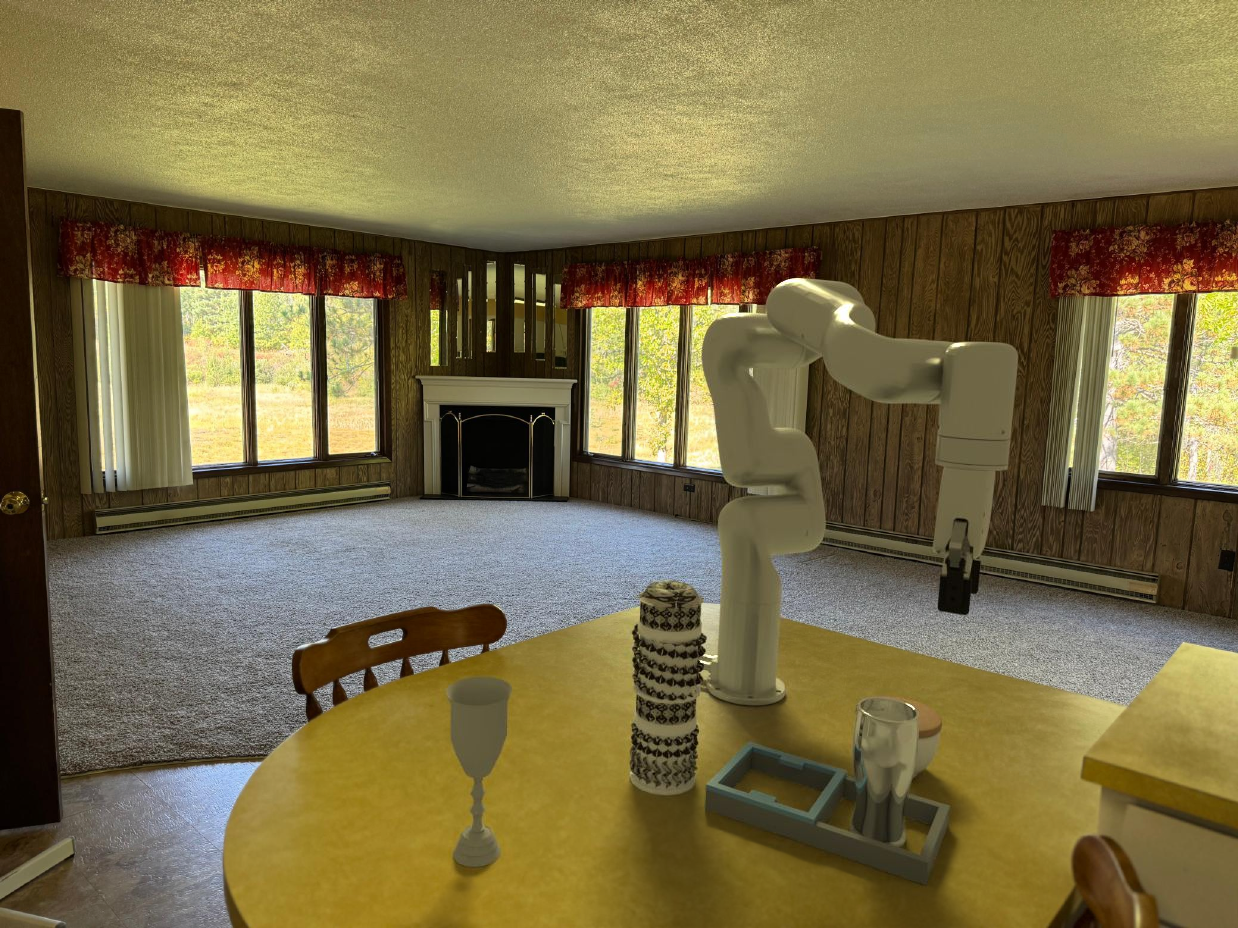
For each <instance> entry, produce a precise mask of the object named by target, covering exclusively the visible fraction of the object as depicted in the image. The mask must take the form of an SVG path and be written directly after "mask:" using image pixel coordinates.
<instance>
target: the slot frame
mask: <svg viewBox="0 0 1238 928" xmlns="http://www.w3.org/2000/svg"><path fill="white" fill-rule="evenodd" d="M751 770H752V771H755V772H757V773H761V774H765V775H769V776H770V777H774V778H777V779H780V780H784V781H787V782H790V783H793V784H797V785H799V786H802V787H803V786H804V787H807V788H810V789H813V790H816V791H819V792H821V794H820V795H819V796H818V798H817V799H816V801H815V802H814V803H813V805H812V806H811V807H810V809H809V810H808V812H807V811H804V810H801V809H797V808H795V807H791V806H788V805H785V804H782V803H780V802H778V798H777V797H776V796H773V795H769V794H767V793H763V792H761V791H758V790H754V789H751V790H750V792H746V791H742V790H739V789H736V787H737V786H738V785H739V784H740V783H741V781H742V780H743V779H744V778H745V777H746V775H748V773H749V772H750V771H751ZM843 799H846V800H849V801H851V802H856V789H855V778H854V776H850V775H848V770H846V769H842V768H839V767H835V766H834V765H833V766H832V765H829V764H825V763H822V762H818V761H814V760H811V759H809V758H805V757H801V756H797V755H794V754H791V753H787V752H785V751H781V750H776V749H775V748H770V747H768V746H767V747H766V746H764V745H762V744H761V745H760V744H757V743H754V742H749V741H747V742H746V743H745V744H744V746H743V747H742V748H741V749H740V750H738V751H737V753H735V754H734V755H733V756H732V758H730V760H729V761H728V762H727V763H726V764H725V765H724V766H723V767H722V768H721V769H720V770H718V771H717V773H716V774H715V775H713V777H712V778H711V779H710V780H709V781H708V782H707V783H706V784H705V799H704V800H705V801H704V810H706V811H709V812H712V813H716V814H718V815H722V816H724V817H726V818H729V819H733V820H736V821H738V822H740V823H741V822H742V823H744V824H748V825H749V826H750V825H751V826H753V827H755V828H756V827H757V828H759V829H761V830H764V831H767V832H771V833H773V834H777V835H779V836H782V837H784V838H788V839H790V840H794V841H797V842H799V843H803V844H806V845H807V846H811V847H813V848H816V849H820V850H822V851H825V852H828V853H832V854H834V855H837V856H840V857H843V858H845V859H848V860H851V861H855V862H856V863H860V864H863V865H865V866H869V867H871V868H873V869H877V870H880V871H884V872H886V873H888V874H892V875H895V876H897V877H900V878H902V879H903V878H904V879H906V880H909V881H912V882H914V883H918V884H920V885H924V886H926V885H927V883H928V881H929V878H930V876H931V874H932V870H933V867H934V864H935V862H936V859H937V856H938V854H939V851H940V848H941V846H942V843H943V841H944V837H945V835H946V832H947V830H948V826H949V821H950V820H949V819H950V807H951V806H950V805H949V804H946V803H942V802H939V801H937V800H931V799H929V798H925V797H922V796H918V795H914V794H911V793H908V796H907V800H906V803H905V810H904V818H905V819H910V820H913V821H917V822H920V823H922V824H926V825H929V826H930V828H929V831H928V834H927V836H926V839H925V842H924V843H923V846H922V849H921V851H920V853H915V852H913V851H909V850H907V849H904V848H901V847H899V848H898V847H895V846H892V845H889V844H886V843H883V842H880V841H877V840H874V839H871V838H867V837H864V836H861V835H858V834H855V833H852V832H850V830H849V831H848V830H846V829H842V828H840V827H836V826H833V825H830V824H828V821H829V820H830V818H831V817H832V816H833V815H834V812H835V811H836V810H837V808H838V806H839V804H840V803H841V801H842V800H843Z"/></svg>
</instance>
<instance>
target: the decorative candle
mask: <svg viewBox="0 0 1238 928" xmlns="http://www.w3.org/2000/svg"><path fill="white" fill-rule="evenodd" d="M637 599H638V600H639V601H640V607H639V618H638V620H637V624H635V625H634V627H633V630H632V631H631V635H632V639H633V641H634V642H633V644H634V645H633V646H632V647H631V651H632V652H633V657H632V658H631V661H632V668H634V670H633V673H632V679H633V685H632V689H633V691H634V693H635V695H636V698H635V699H636V700H635V709H634V714H633V722H631V732H632V734H631V735H630V739H631V744H632V745H631V747H629V754H630V759H629V768H630V772H629V779H630V781H631V783H632V785H633V786H635V787H636V788H637V789H639V790H640V791H643V792H646V793H649V794H651V795H660V796H673V795H675V796H676V795H681V794H684V793H686V792H689V791H691V789H692V788H693V787H694V786H696V779H697V774H696V771H698V767H697V760H698V758H699V755H698V750H697V748H698V747H697V746H698V745H699V741H698V734H699V733H700V729H699V725H698V724H697V719H698V712H697V698H698V697H700V696H701V695H700V694H701V686H700V685H701V683H702V682H703V681H704V676H702V674H701V673H700V672H702V671H704V670H703V668H704V664H703V663H701V661H700V660H698V658H699V657H701V656H703V655H704V654H706V653H707V650H706V648H705V647H704V646H703V645H704V644H705V643H706V642H707V639H708V637H707V635H705V634H704V633H703V632H702V629H703V628H702V627H703V624H702V623H703V622H702V621H701V616H702V604H704V597H703V596H701V595H700V594H698V591H697V590H696V589H695V588H694V586H692V585H691V584H688V583H686V582H682V581H677V580H658V581H654V582H652V583H649V585H647V587H646V588H645V590H644V591H643V592H640V593H639V594H638V596H637Z"/></svg>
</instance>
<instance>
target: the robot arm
mask: <svg viewBox="0 0 1238 928" xmlns="http://www.w3.org/2000/svg"><path fill="white" fill-rule="evenodd" d="M765 301H766V303H765V313H759V312H734V313H728V314H724V315H722V316H719V317H717V318H716V319H714V320H713V321H712V322H711V323H710V325H709V326H708V328H707V329H706V331H705V335H704V337H703V339H702V345H701V365H702V372H703V376H704V379H705V383H706V385H707V388H708V391H709V394H710V398H711V402H712V406H713V413H714V414H713V415H714V423H715V431H716V433H715V434H716V439H717V440H716V441H717V449H718V455H719V456H718V457H719V463H720V469H721V472H722V476H723V478H724V480H725V481H726V483H728V484H729V485H730V486H732V487H736V488H748V489H749V488H750V489H751V488H773V487H775V488H776V489H777V493H778V494H761V495H747V496H742V497H739V498H735V499H732V500H731V501H729V502H727V503H726V504H725V506H723V508H722V509H721V510H720V512H719V514H718V515H719V516H718V519H717V531H718V533H717V534H718V541H719V546H720V558H721V581H720V583H721V584H720V604H719V606H720V607H719V621H718V622H719V623H718V640H717V654H715V655H709V654H708V653H705V654H704V655H703V656H701V657H699V658H698V660H700V661H701V663H703V664H704V668H703V670H702V671H708V673H709V674H708V675H707V677H706V680H705V681H706V683H705V686H706V690H707V691H708V692H709V693H710V694H711V695H713V696H714V697H716V698H718V699H719V700H722V701H723V702H724V701H725V702H728V703H732V704H737V705H743V706H766V705H771V704H775V703H777V702H779V701H781V700H782V699H783V698H784V697H785V695H786V684H784V682H783V681H782V680H781V679H780V678H779V677H777V671H778V670H777V669H778V655H779V641H780V640H779V638H780V627H781V626H780V623H781V612H782V611H781V610H782V595H783V594H782V593H783V591H782V590H783V586H782V585H783V584H782V579H781V577H780V575H779V573H778V570H777V568H776V567H775V565H774V563H773V560H772V557H776V556H780V555H781V556H782V555H790V554H791V555H793V554H800V553H806V552H810V551H813V550H815V549H816V548H818V547H819V545H820V544H821V543H822V542H823V541H824V540H823V539H824V537H825V533H826V526H827V524H826V521H827V519H826V511H825V510H826V509H825V502H824V495H823V488H822V480H821V472H820V466H819V465H820V464H819V460H818V454H817V451H816V448H815V446H814V444H813V442H812V441H811V439H810V437H809V436H808V435H807V434H806V433H805V432H803V431H801V430H800V429H797V428H793V427H792V428H791V427H773V426H772V424H771V420H770V416H769V407H768V401H767V398H766V395H765V393H764V391H763V389H762V387H761V386H760V384H759V383H758V382H757V381H756V379H755V378H754V377H753V376H752V375H751V374H750V371H749V370H750V369H763V370H764V369H766V370H767V369H770V370H796V369H801V368H804V367H806V366H808V365H810V364H812V363H814V362H815V361H817V360H819V359H820V358H823V362H824V365H825V367H826V370H827V372H828V374H829V375H830V377H832V379H834V381H836V382H837V383H839V384H840V385H841V386H843V387H845V388H847V389H849V390H850V391H853V392H854V393H856V394H857V395H860V396H862V397H863V398H865V399H868V400H871V401H874V402H876V403H881V404H883V403H884V404H919V405H939V411H938V421H937V422H938V426H937V436H936V446H935V447H936V449H935V461H934V464H935V465H937V466H941V467H943V470H942V475H941V479H940V487H939V495H938V502H937V507H936V508H937V509H936V518H935V528H934V535H933V541H932V542H933V543H932V551H933V553H934V554H935V555H940V553H942V552H944V556H943V557H944V558H943V564H942V568H941V573H940V575H939V585H938V598H937V610H938V611H939V612H941V613H942V612H943V613H949V614H955V615H961V616H968V615H969V613H970V605H971V598H972V596H971V595H977V593H978V592H979V585H980V577H981V576H980V575H981V566H982V565H981V562H982V560H980V557H981V554H982V553H983V551H984V549H985V546H986V542H987V539H988V534H989V528H990V522H991V515H992V509H993V499H994V489H995V481H996V471H998V472H1000V471H1006V470H1008V469H1009V467H1008V466H1009V458H1010V448H1011V436H1012V428H1013V427H1012V425H1013V416H1014V407H1015V397H1016V396H1015V395H1016V385H1017V374H1018V365H1019V355H1018V354H1019V353H1018V351H1017V349H1016V348H1015V347H1014V346H1013V345H1011V344H1009V343H1005V342H993V341H992V342H991V341H990V342H989V341H961V342H960V341H959V342H952V341H944V340H943V341H942V340H929V339H918V338H917V339H916V338H896V337H895V338H892V337H889V336H884V335H882V334H879V333H876V319H875V315H874V313H873V312H872V310H871V308H870V307H869V306H868V305H866V304H865V301H864V298H863V296H862V294H861V293H860V292H859V291H858V289H857V288H855V287H854V286H852V285H851V284H849V283H846V282H843V281H835V280H825V279H814V278H800V277H799V278H797V277H796V278H790V279H786V280H784V281H782V282H780V283H779V284H776V286H775V287H774V288H773V289H772V290H771V291H770V293H769V294H768V296H767V298H766V300H765Z"/></svg>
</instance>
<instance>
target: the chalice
mask: <svg viewBox="0 0 1238 928" xmlns="http://www.w3.org/2000/svg"><path fill="white" fill-rule="evenodd" d="M445 693H446V694H445V695H446V698H447V700H448V701H449V703H450V742H451V744H452V748H453V750H454V753H455V756H456V758H457V760H458V762H459V764H460V766H461V768H462V771H464V773H465V775H466V776H467V777H469V778H471V779H473V786H472V790H471V791H470V793H469V794H470V795H471V797H472V802H473V803H472V806H471V807H469V813H470V814H471V815H472V819H473V820H472V824H471V825H469V826H466V827H465V829H464V830H463V831H462V832H461V833H460V835H459V838H458V840H457V842H456V845H455V847H454V850H453V851H452V858H453V859H454V861H455V862H457V863H458V864H460V865H461V866H464V867H469V868H470V867H471V868H479V867H484V866H488V865H491V864H492V863H494V862H495V861H497V859H498V858H500V856H501V852H502V849H501V848H502V847H501V846H500V845H499V843H498V839H497V837H496V836H495V835H496V834H495V832H494V831H493V830H492V828H491V827H489V826H488V825H486V824H484V823H483V820H482V819H483V815H484V813H485V812H486V811H487V808H486V806H485V805H484V804H483V798H484V796H485V795H486V790H485V789H484V786H483V780H484V778H486V777H488V776H489V775H490V774H491V773H492V771H493V768H495V765H496V763H497V761H498V759H499V757H500V755H501V753H502V750H503V747H504V744H505V742H506V738H507V736H508V709H509V707H508V704H509V699H510V697H511V695H512V693H513V687H512V685H511V683H509V682H508V681H505V680H504V679H501V678H498V677H491V676H472V677H467V678H462V679H460V680H456V681H455V682H453V683H451V684H450V685H449V686H448V687H447V688H446V691H445Z"/></svg>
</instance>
